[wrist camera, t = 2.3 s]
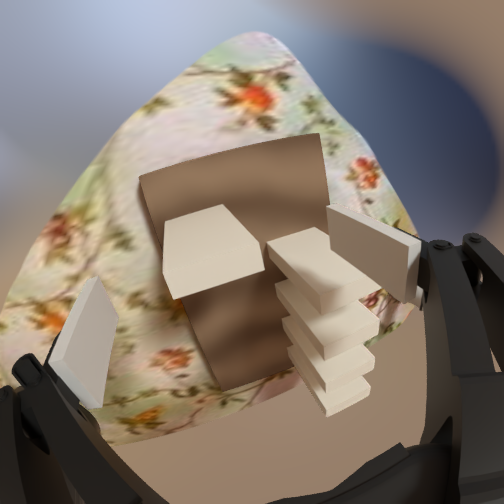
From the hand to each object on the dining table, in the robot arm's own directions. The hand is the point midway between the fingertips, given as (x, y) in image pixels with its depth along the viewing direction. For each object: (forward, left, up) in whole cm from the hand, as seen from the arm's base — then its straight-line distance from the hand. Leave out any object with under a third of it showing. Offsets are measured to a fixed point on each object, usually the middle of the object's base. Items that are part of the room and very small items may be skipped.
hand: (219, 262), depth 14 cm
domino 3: (-1, -12, -9) cm, 15 cm away
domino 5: (-7, -18, -9) cm, 22 cm away
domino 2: (+2, -9, -9) cm, 13 cm away
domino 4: (-4, -15, -9) cm, 18 cm away
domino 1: (0, 0, -9) cm, 9 cm away
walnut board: (-3, -9, -11) cm, 14 cm away
